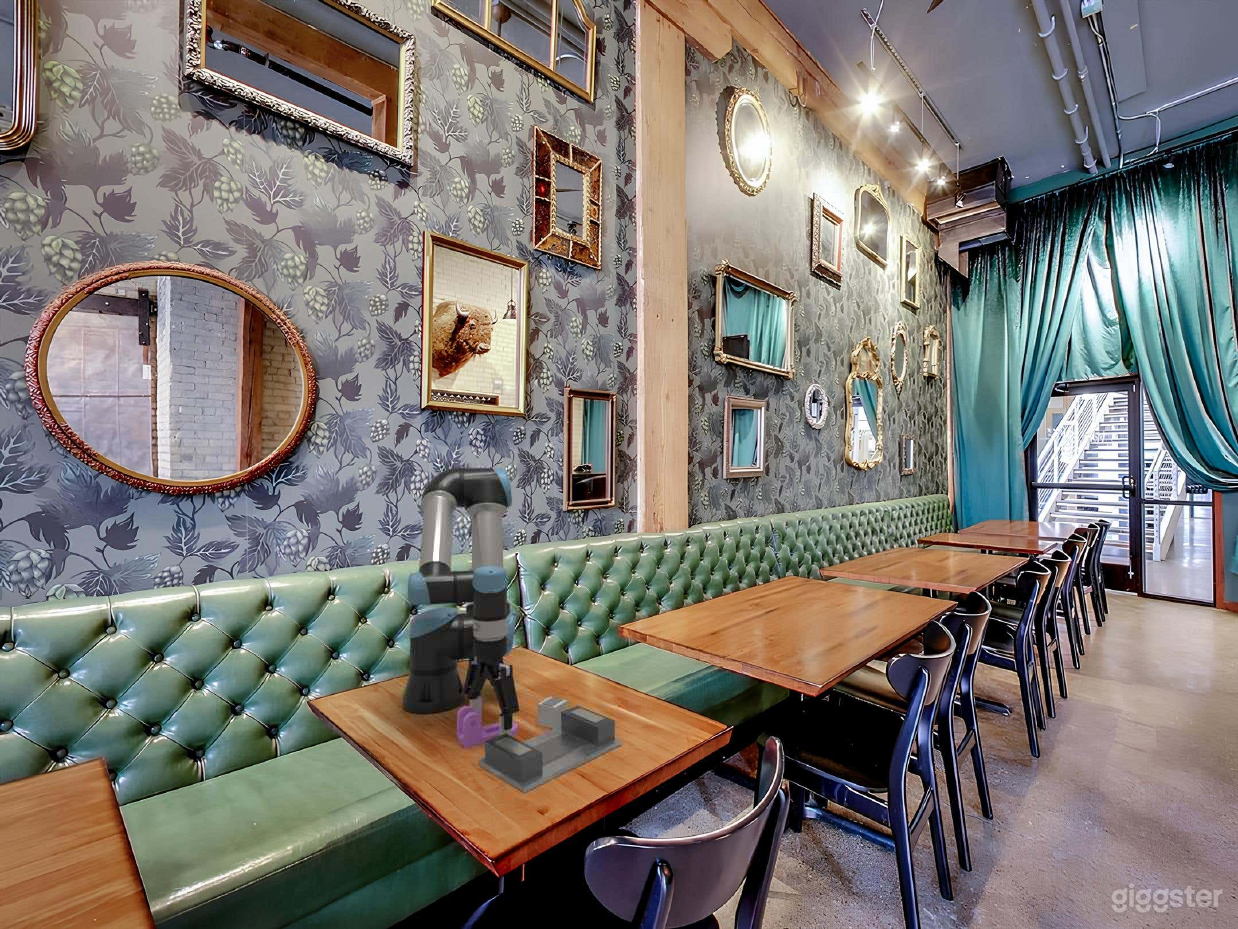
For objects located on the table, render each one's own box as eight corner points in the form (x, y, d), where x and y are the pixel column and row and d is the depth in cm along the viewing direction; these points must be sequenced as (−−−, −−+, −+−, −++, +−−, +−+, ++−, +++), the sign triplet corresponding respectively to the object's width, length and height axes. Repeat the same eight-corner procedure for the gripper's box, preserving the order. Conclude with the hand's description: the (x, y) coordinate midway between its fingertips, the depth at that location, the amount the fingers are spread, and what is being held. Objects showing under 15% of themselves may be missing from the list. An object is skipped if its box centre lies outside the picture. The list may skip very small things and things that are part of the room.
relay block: (537, 725, 136) (537, 703, 136) (550, 717, 140) (550, 695, 140) (555, 729, 133) (555, 707, 134) (567, 721, 138) (567, 699, 138)
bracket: (464, 749, 124) (464, 716, 124) (456, 739, 129) (457, 707, 129) (521, 734, 131) (521, 703, 131) (512, 725, 136) (512, 695, 136)
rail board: (478, 765, 117) (478, 739, 117) (574, 724, 136) (574, 702, 136) (524, 793, 107) (524, 764, 107) (621, 745, 125) (621, 720, 126)
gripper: (448, 630, 136) (447, 725, 135) (507, 651, 120) (507, 758, 119) (475, 624, 141) (475, 715, 141) (536, 643, 125) (536, 746, 125)
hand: (490, 735), depth 130 cm, fingers open, 11 cm apart
